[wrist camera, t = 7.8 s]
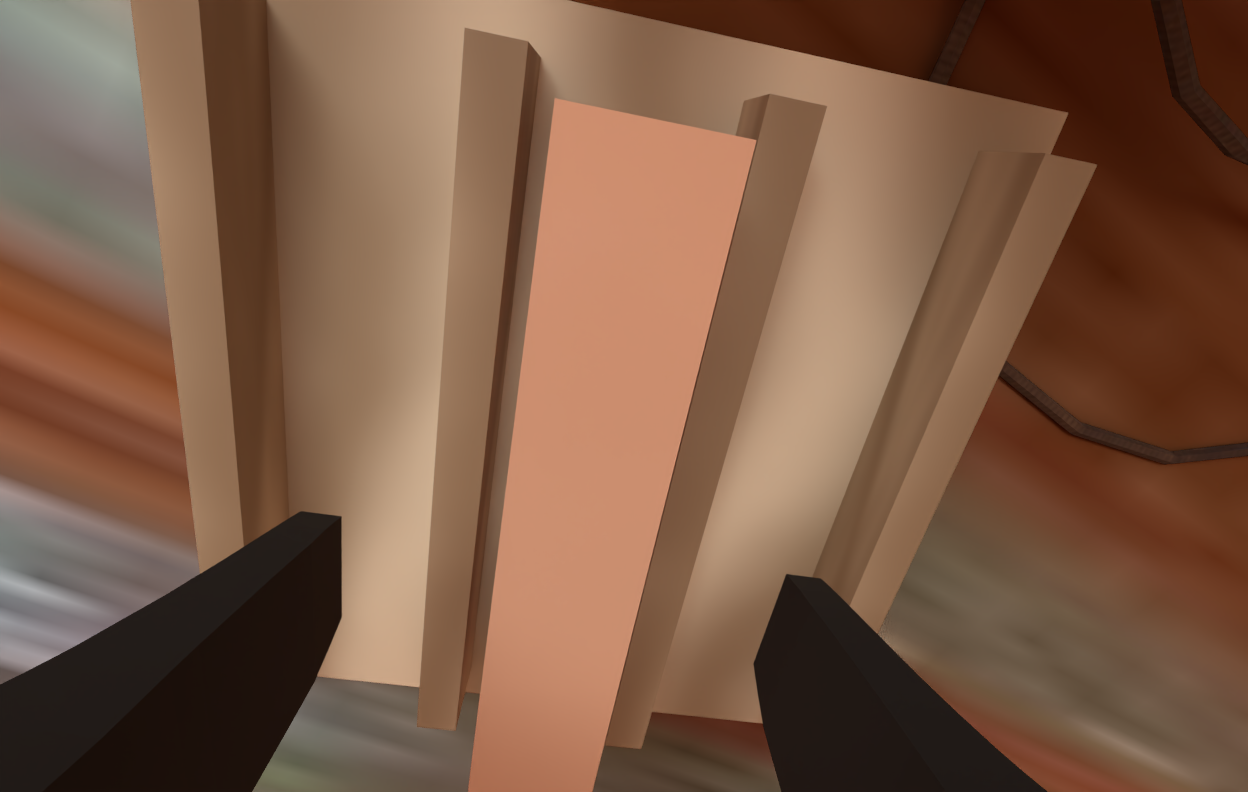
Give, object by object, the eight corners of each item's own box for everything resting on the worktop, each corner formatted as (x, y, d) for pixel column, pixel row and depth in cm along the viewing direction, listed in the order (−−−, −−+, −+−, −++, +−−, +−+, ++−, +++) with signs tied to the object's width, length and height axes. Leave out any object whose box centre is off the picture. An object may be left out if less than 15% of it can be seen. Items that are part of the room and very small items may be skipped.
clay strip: (501, 642, 17) (463, 828, 12) (574, 114, 12) (555, 97, 7) (587, 651, 17) (580, 837, 13) (698, 139, 12) (756, 140, 7)
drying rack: (264, 636, 18) (199, 732, 15) (213, -67, 11) (77, -139, 8) (789, 695, 20) (821, 790, 17) (1029, 115, 13) (1153, 108, 10)
